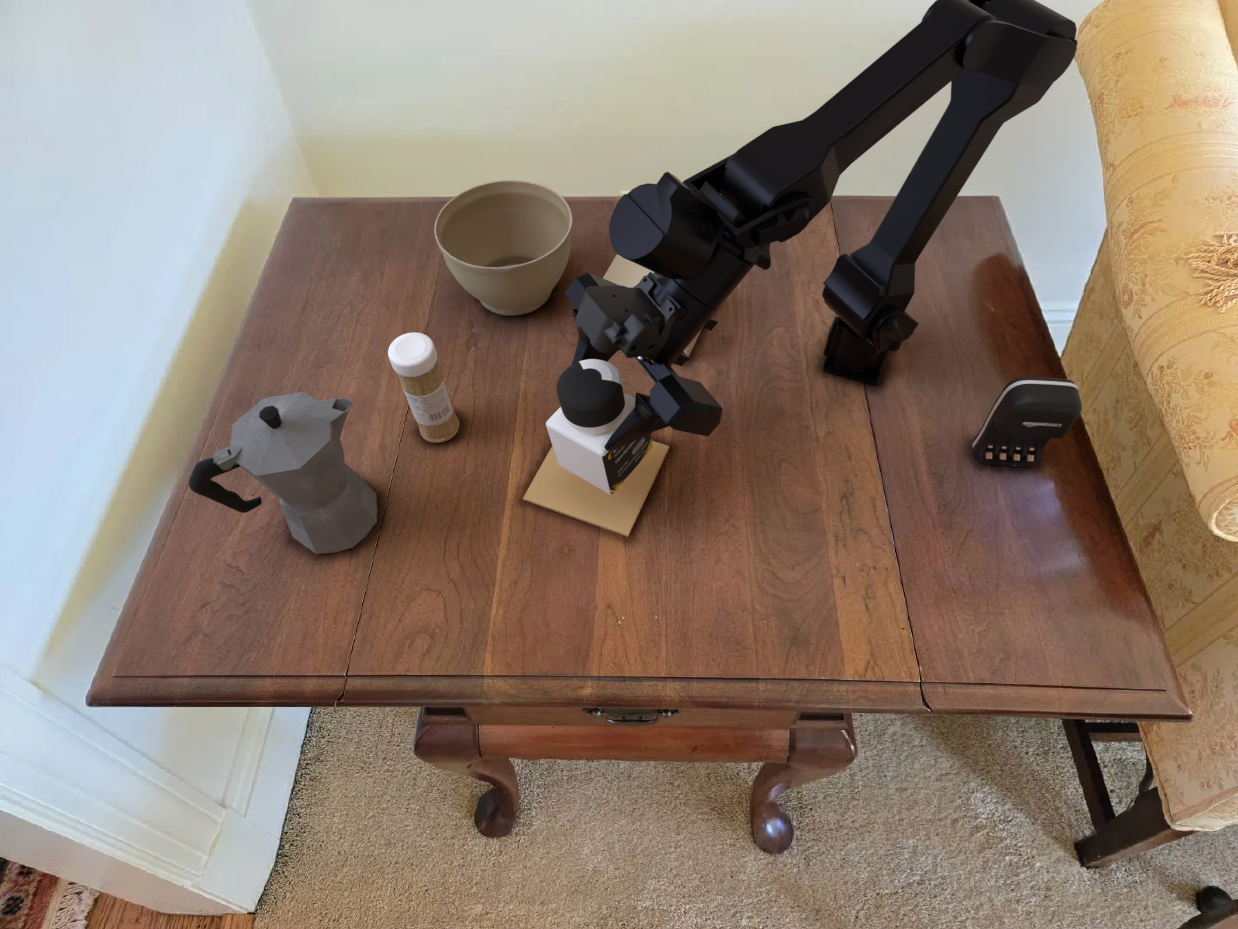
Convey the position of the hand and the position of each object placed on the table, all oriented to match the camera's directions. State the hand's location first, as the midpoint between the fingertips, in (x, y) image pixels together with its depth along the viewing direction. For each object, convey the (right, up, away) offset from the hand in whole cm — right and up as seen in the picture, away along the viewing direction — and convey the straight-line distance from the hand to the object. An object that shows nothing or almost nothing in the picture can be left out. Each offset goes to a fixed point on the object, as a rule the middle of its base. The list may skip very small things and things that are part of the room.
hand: (587, 420), depth 72 cm
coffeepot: (-28, -10, +9) cm, 31 cm away
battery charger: (+44, -4, +11) cm, 46 cm away
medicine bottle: (+2, -3, +7) cm, 8 cm away
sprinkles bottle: (-17, 0, +15) cm, 23 cm away
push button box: (+7, +14, +24) cm, 29 cm away
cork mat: (+1, -5, +11) cm, 12 cm away
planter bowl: (-10, +18, +28) cm, 35 cm away
